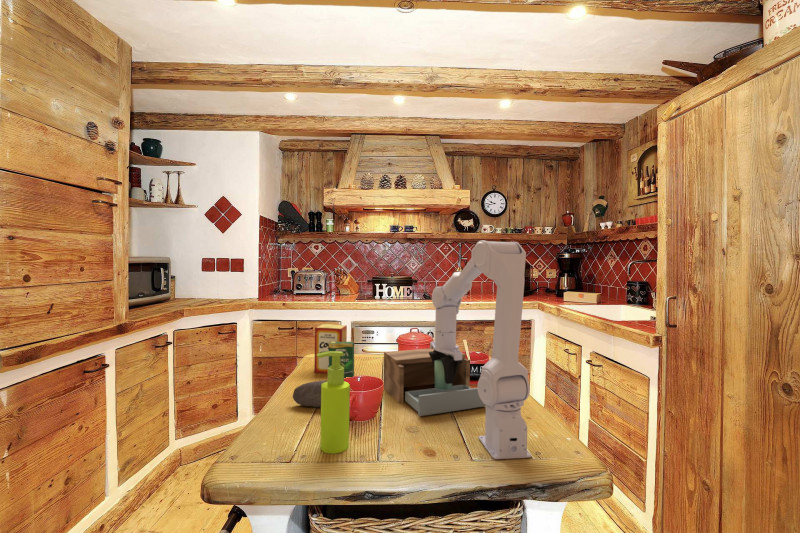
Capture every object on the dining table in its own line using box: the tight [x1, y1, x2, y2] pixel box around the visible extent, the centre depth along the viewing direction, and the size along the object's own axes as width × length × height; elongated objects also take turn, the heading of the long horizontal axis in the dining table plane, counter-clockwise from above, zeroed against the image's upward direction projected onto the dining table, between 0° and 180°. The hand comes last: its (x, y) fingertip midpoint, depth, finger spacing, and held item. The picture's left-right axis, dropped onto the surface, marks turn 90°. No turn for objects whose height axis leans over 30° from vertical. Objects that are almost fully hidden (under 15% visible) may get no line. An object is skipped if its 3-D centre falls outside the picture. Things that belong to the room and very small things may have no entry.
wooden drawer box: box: [382, 347, 471, 404], centre depth 116 cm, size 13×23×11 cm, turn 113°
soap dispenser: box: [316, 351, 351, 454], centre depth 81 cm, size 6×7×20 cm
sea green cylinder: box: [434, 359, 452, 390], centre depth 106 cm, size 5×5×7 cm
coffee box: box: [329, 341, 355, 378], centre depth 122 cm, size 8×3×13 cm, turn 86°
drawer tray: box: [404, 384, 486, 417], centre depth 105 cm, size 11×21×5 cm, turn 113°
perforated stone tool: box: [292, 379, 328, 409], centre depth 103 cm, size 15×5×7 cm, turn 88°
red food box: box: [313, 323, 348, 374], centre depth 136 cm, size 10×6×16 cm
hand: (444, 380), depth 106 cm, fingers closed on sea green cylinder, 5 cm apart
